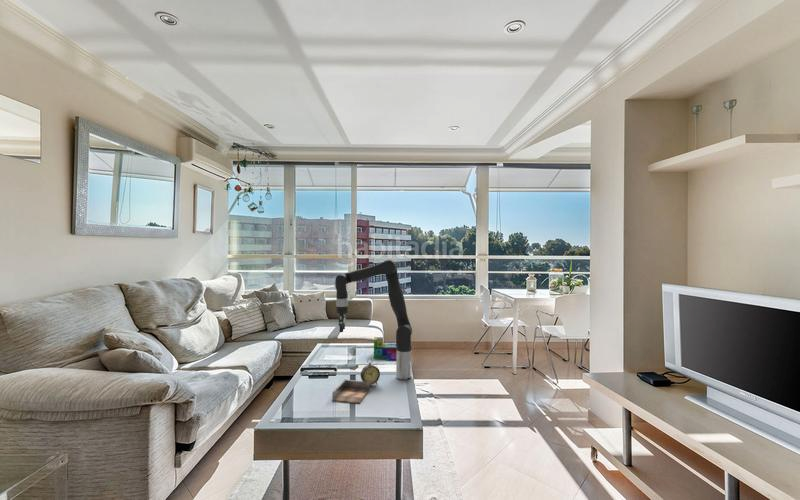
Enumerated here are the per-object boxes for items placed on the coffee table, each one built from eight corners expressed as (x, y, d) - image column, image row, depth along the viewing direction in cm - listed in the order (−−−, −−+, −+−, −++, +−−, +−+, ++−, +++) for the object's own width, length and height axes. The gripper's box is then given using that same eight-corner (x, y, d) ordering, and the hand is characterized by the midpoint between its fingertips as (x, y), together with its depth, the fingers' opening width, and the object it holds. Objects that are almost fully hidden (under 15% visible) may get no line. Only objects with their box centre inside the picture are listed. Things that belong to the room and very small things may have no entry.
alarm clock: (362, 388, 222) (363, 360, 221) (359, 385, 226) (359, 357, 226) (380, 385, 227) (380, 358, 227) (376, 382, 232) (376, 355, 231)
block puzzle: (373, 360, 275) (373, 341, 275) (374, 354, 292) (374, 335, 292) (407, 361, 275) (408, 341, 275) (407, 354, 292) (407, 336, 292)
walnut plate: (369, 390, 218) (369, 388, 218) (359, 403, 200) (359, 402, 200) (344, 388, 221) (344, 386, 221) (332, 401, 203) (332, 399, 203)
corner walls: (369, 389, 218) (369, 381, 218) (359, 402, 200) (359, 394, 200) (344, 386, 221) (344, 379, 221) (332, 399, 203) (332, 391, 202)
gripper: (346, 307, 238) (346, 333, 238) (349, 303, 252) (349, 328, 252) (334, 307, 238) (334, 333, 238) (337, 303, 252) (337, 328, 252)
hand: (342, 330), depth 245 cm, fingers open, 8 cm apart
